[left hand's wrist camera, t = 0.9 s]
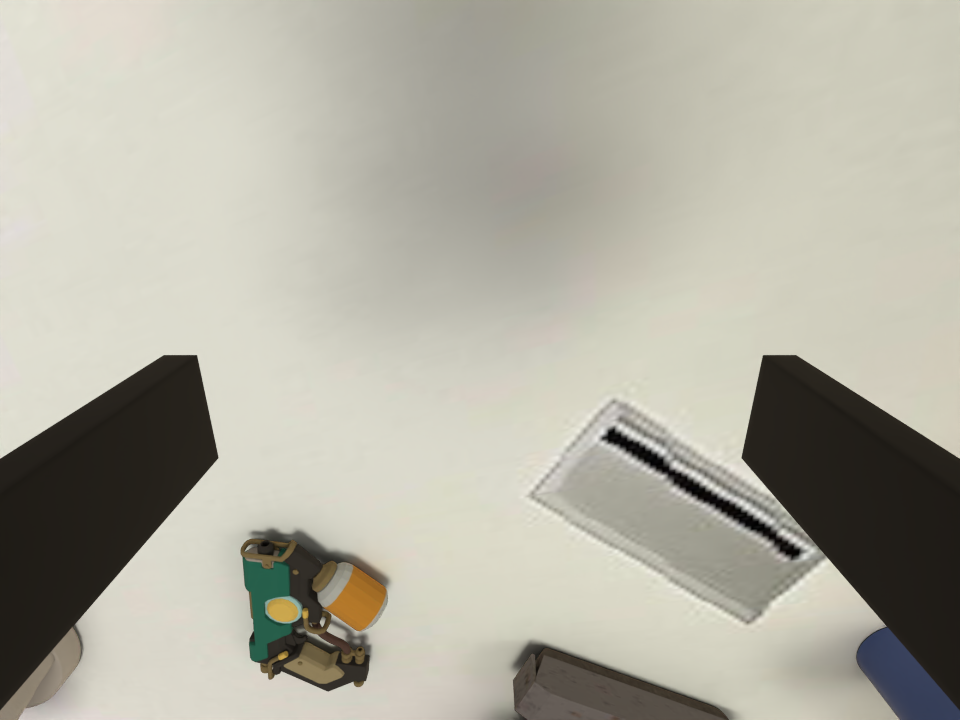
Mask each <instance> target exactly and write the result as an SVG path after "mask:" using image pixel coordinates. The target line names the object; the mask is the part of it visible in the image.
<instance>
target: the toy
mask: <svg viewBox="0 0 960 720" xmlns="http://www.w3.org/2000/svg"><path fill="white" fill-rule="evenodd" d="M513 687H514V705H515V711H516V712H518V713H519V714H520V715H522V716H523V717H525V718H526V719H527V720H729V719H728V718H727V717H726V715H725V714H724V713H723V712H722V711H720V710H719V709H718V708H716V707H713V706H710V705H708V704H705V703H702V702H699V701H696V700H693V699H691V698H688V697H685V696H682V695H679V694H676V693H674V692H671V691H668V690H665V689H662V688H660V687H657V686H654V685H651V684H648V683H645V682H643V681H640V680H637V679H634V678H631V677H628V676H626V675H623V674H620V673H617V672H614V671H611V670H609V669H606V668H603V667H600V666H597V665H594V664H592V663H589V662H586V661H583V660H580V659H577V658H575V657H572V656H569V655H566V654H563V653H560V652H558V651H555V650H552V649H549V648H545V649H543V651H542V652H541V653H540V655H539V656H538V658H537V659H536V661H535V655H534V654H531V655H530V657H529V658H528V660H527V661H526V662H525V664H524V665H523V667H522V668H521V670H520V671H519V672H518V674H517V675H516V677H515V678H514V680H513Z"/></svg>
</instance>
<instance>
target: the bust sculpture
mask: <svg viewBox="0 0 960 720" xmlns="http://www.w3.org/2000/svg"><path fill="white" fill-rule="evenodd" d="M80 655H81V646H80V642H79V638H78V636H77V634H76V632H75V630H74V629H73V627H72V628H71V629H70V630H69V632H68V633H67V634H66V635H65V636H64V637H63V639H62V640H61V641H60V642H59V643H58V644H57V645H56V647H55V648H54V649H53V650H52V651H51V652H50V654H49V655H48V656H47V657H46V658H45V659H44V661H43V662H42V663H41V664H40V665H39V666H38V667H37V669H36V670H35V671H34V672H33V673H32V674H31V676H30V677H29V678H28V679H27V680H26V681H25V683H24V684H23V685H22V686H21V687H20V688H19V689H18V691H17V692H16V693H15V694H14V695H13V696H12V698H11V699H10V700H9V701H8V702H7V703H6V705H5V706H4V707H3V708H2V709H1V710H0V720H18V719H19V717H20V715H21V714H22V712H23V711H24V709H25V708H29V707H33V706H37V705H39V704H42V703H44V702H45V701H47V700H49V699H50V698H51V697H52V696H53V695H54V694H55V693H56V692H57V691H58V690H59V688H60V687H61V686H62V685H63V683H64V682H65V681H66V679H67V678H68V677H69V676H70V674H71V673H72V672H73V671H74V669H75V668H76V666H77V665H78V663H79V660H80Z"/></svg>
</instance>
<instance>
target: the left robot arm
mask: <svg viewBox="0 0 960 720" xmlns="http://www.w3.org/2000/svg"><path fill="white" fill-rule="evenodd" d="M217 459H218V453H217V448H216V444H215V439H214V434H213V429H212V425H211V420H210V415H209V410H208V406H207V401H206V396H205V391H204V387H203V382H202V377H201V372H200V367H199V363H198V358H197V355H164V356H162V357H160V358H159V359H157V360H156V361H154V362H152V363H151V364H149V365H148V366H146V367H145V368H143V369H141V370H140V371H138V372H137V373H135V374H134V375H132V376H130V377H129V378H127V379H126V380H124V381H122V382H121V383H119V384H118V385H116V386H115V387H113V388H111V389H110V390H108V391H107V392H105V393H103V394H102V395H100V396H99V397H97V398H96V399H94V400H92V401H91V402H89V403H88V404H86V405H85V406H83V407H81V408H80V409H78V410H77V411H75V412H73V413H72V414H70V415H69V416H67V417H66V418H64V419H62V420H61V421H59V422H58V423H56V424H54V425H53V426H51V427H50V428H48V429H47V430H45V431H43V432H42V433H40V434H39V435H37V436H36V437H34V438H32V439H31V440H29V441H28V442H26V443H24V444H23V445H21V446H20V447H18V448H17V449H15V450H13V451H12V452H10V453H9V454H7V455H5V456H4V457H2V458H1V459H0V710H1V709H2V708H3V707H4V706H5V705H6V703H7V702H8V701H9V700H10V699H11V698H12V696H13V695H14V694H15V693H16V692H17V691H18V689H19V688H20V687H21V686H22V685H23V684H24V683H25V681H26V680H27V679H28V678H29V677H30V676H31V674H32V673H33V672H34V671H35V670H36V669H37V667H38V666H39V665H40V664H41V663H42V662H43V661H44V659H45V658H46V657H47V656H48V655H49V654H50V652H51V651H52V650H53V649H54V648H55V647H56V645H57V644H58V643H59V642H60V641H61V640H62V639H63V637H64V636H65V635H66V634H67V633H68V632H69V630H70V629H71V628H72V627H73V626H74V625H75V623H76V622H77V621H78V620H79V619H80V618H81V617H82V615H83V614H84V613H85V612H86V611H87V610H88V608H89V607H90V606H91V605H92V604H93V603H94V601H95V600H96V599H97V598H98V597H99V596H100V595H101V593H102V592H103V591H104V590H105V589H106V588H107V586H108V585H109V584H110V583H111V582H112V581H113V579H114V578H115V577H116V576H117V575H118V574H119V573H120V571H121V570H122V569H123V568H124V567H125V566H126V564H127V563H128V562H129V561H130V560H131V559H132V558H133V556H134V555H135V554H136V553H137V552H138V551H139V549H140V548H141V547H142V546H143V545H144V544H145V542H146V541H147V540H148V539H149V538H150V537H151V536H152V534H153V533H154V532H155V531H156V530H157V529H158V527H159V526H160V525H161V524H162V523H163V522H164V520H165V519H166V518H167V517H168V516H169V515H170V514H171V512H172V511H173V510H174V509H175V508H176V507H177V505H178V504H179V503H180V502H181V501H182V500H183V498H184V497H185V496H186V495H187V494H188V493H189V492H190V490H191V489H192V488H193V487H194V486H195V485H196V483H197V482H198V481H199V480H200V479H201V478H202V476H203V475H204V474H205V473H206V472H207V471H208V470H209V468H210V467H211V466H212V465H213V464H214V463H215V461H216V460H217ZM742 459H743V460H744V461H745V463H746V464H747V465H748V466H749V467H750V468H751V470H752V471H753V472H754V473H755V474H756V475H757V476H758V478H759V479H760V480H761V481H762V482H763V483H764V485H765V486H766V487H767V488H768V489H769V490H770V492H771V493H772V494H773V495H774V496H775V497H776V498H777V500H778V501H779V502H780V503H781V504H782V505H783V507H784V508H785V509H786V510H787V511H788V512H789V514H790V515H791V516H792V517H793V518H794V519H795V520H796V522H797V523H798V524H799V525H800V526H801V527H802V529H803V530H804V531H805V532H806V533H807V534H808V536H809V537H810V538H811V539H812V540H813V541H814V542H815V544H816V545H817V546H818V547H819V548H820V549H821V551H822V552H823V553H824V554H825V555H826V556H827V558H828V559H829V560H830V561H831V562H832V563H833V564H834V566H835V567H836V568H837V569H838V570H839V571H840V573H841V574H842V575H843V576H844V577H845V578H846V579H847V581H848V582H849V583H850V584H851V585H852V586H853V588H854V589H855V590H856V591H857V592H858V593H859V595H860V596H861V597H862V598H863V599H864V600H865V601H866V603H867V604H868V605H869V606H870V607H871V608H872V610H873V611H874V612H875V613H876V614H877V615H878V617H879V618H880V619H881V620H882V621H883V622H884V623H885V625H886V626H887V627H888V628H889V629H890V630H891V632H892V633H893V634H894V635H895V636H896V637H897V639H898V640H899V641H900V642H901V643H902V644H903V645H904V647H905V648H906V649H907V650H908V651H909V652H910V654H911V655H912V656H913V657H914V658H915V659H916V661H917V662H918V663H919V664H920V665H921V666H922V667H923V669H924V670H925V671H926V672H927V673H928V674H929V676H930V677H931V678H932V679H933V680H934V681H935V683H936V684H937V685H938V686H939V687H940V688H941V689H942V691H943V692H944V693H945V694H946V695H947V696H948V698H949V699H950V700H951V701H952V702H953V703H954V705H955V706H956V707H957V708H958V709H959V710H960V459H959V458H958V457H956V456H955V455H953V454H951V453H950V452H948V451H947V450H945V449H943V448H942V447H940V446H939V445H937V444H936V443H934V442H932V441H931V440H929V439H928V438H926V437H924V436H923V435H921V434H920V433H918V432H917V431H915V430H913V429H912V428H910V427H909V426H907V425H906V424H904V423H902V422H901V421H899V420H898V419H896V418H894V417H893V416H891V415H890V414H888V413H887V412H885V411H883V410H882V409H880V408H879V407H877V406H875V405H874V404H872V403H871V402H869V401H868V400H866V399H864V398H863V397H861V396H860V395H858V394H857V393H855V392H853V391H852V390H850V389H849V388H847V387H845V386H844V385H842V384H841V383H839V382H838V381H836V380H834V379H833V378H831V377H830V376H828V375H826V374H825V373H823V372H822V371H820V370H819V369H817V368H815V367H814V366H812V365H811V364H809V363H808V362H806V361H804V360H803V359H801V358H800V357H798V356H796V355H763V358H762V363H761V367H760V372H759V377H758V382H757V387H756V391H755V396H754V401H753V406H752V410H751V415H750V420H749V425H748V429H747V434H746V439H745V444H744V448H743V453H742Z"/></svg>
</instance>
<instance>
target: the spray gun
mask: <svg viewBox="0 0 960 720" xmlns="http://www.w3.org/2000/svg"><path fill="white" fill-rule="evenodd" d="M251 544H259V545H258V548H257V547H254V548H251V549H249V550H247V551H245V550H246V548H247V547H248V546H249V545H251ZM279 547H284V548H282V549H281V550H280V551H279ZM285 548H288V549H287V550H286V549H285ZM244 551H245V552H244ZM241 555H242V556H243V569H244V581H245V587H246V589H247V590H248V591H249V597H250V609H251V618H252V619H253V624H254V631H253V633H252V635H251V637H250V641H249V648H250V658H251V660H252V661H255V662H258V663H261V664H260V667H261V672H262V673H268V678H269V680H270V679H273V678H274V676H275V675H277V674H280V672H281V671H283V672H285V673H287V674H289V675H292V676H294V677H296V678H298V679H301V680H303V681H305V682H308V683H310V684H312V685H314V686H317V687H319V688H321V689H323V690H326V691H331V690H333V689H336V688H338V687H341V686H343V685H346V684H348V683H351V682H353V681H354V685H355V686H356V687H360V686H362V685H363V683H364V681H366V679H367V675H368V671H369V655H365V650H364V648H363V647H358V648H357V649H356V651H355V650H352V648H351V647H350V646H349V644H348V643H347V642H346V641H344V640H343V639H340V638H338V637H336V636H334V635H332V634H330V633H328V632H327V631H326V630H327V628H328V626H329V624H330V621H331V614H330V613H329V612H331V613H332V614H334V615H335V616H336V617H338V618H339V619H341V620H342V621H344V622H345V623H346V624H348V625H349V626H351V627H352V628H354V629H355V630H357V631H363V630H366V629H368V628H370V627H372V626H373V625H374V624H375V623H376V622H377V620H378V619H379V618H380V616H381V615H382V613H383V611H384V609H385V607H386V605H387V601H388V594H387V590H386V588H385V587H384V586H383V585H382V584H380V583H379V582H377V581H376V580H374V579H373V578H371V577H370V576H368V575H367V574H366V573H364V572H363V571H361V570H360V569H358V568H357V567H355V566H354V565H352V564H350V563H346V562H342V563H338V564H336V562H334V561H329V562H328V563H326V564H324V565H322V563H321V562H320V561H319V560H317V559H316V558H315V557H314V556H312V555H311V554H310V553H309V552H307V551H306V550H305V549H304V548H302V547H301V546H300V545H299V544H297V542H295V541H294V540H291V541H290V542H289V543H284V542H276V541H268V540H260V539H250V540H247V541H246V542H245V543H244V544H243V546H242V547H241ZM312 578H313V584H312V585H311V579H312ZM322 607H324V608H325V609H326V610H328V611H329V612H327V611H322ZM321 617H326V621H325V624H324V626H323V627H321V625H320V620H321ZM309 623H312V626H313V627H311V626H310V625H309ZM301 624H304V628H305V629H306V630H307V631H308V632H310V633H313V634H318V635H319V636H320V637H321V638H322V639H324V640H326V641H327V642H329V643H331V644H333V645H336V646H338V647H340V648H341V649H342V651H341V652H340V651H336V652H334V653H332V654H329V653H327V652H325V651H323V650H322V649H320V648H318V647H316V646H314V645H312V644H311V643H308V642H305V641H306V639H307V638H308V636H307V635H303V636H302V635H299V634H297V633H296V632H295V631H294V630H293V628H294V627H295V626H298V625H301ZM272 668H273V670H272Z"/></svg>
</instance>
